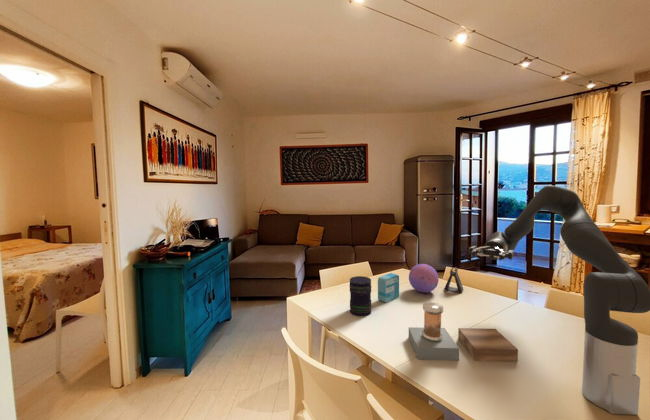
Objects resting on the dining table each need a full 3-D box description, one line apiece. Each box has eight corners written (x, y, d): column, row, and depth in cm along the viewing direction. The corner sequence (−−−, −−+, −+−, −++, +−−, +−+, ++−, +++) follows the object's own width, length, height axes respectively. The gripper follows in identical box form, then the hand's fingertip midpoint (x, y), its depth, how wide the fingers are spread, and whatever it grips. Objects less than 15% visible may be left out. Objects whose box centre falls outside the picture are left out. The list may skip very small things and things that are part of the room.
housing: (445, 342, 91) (446, 310, 90) (425, 341, 91) (426, 310, 91) (438, 331, 98) (439, 302, 97) (419, 331, 98) (420, 301, 97)
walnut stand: (517, 361, 87) (518, 349, 86) (475, 360, 87) (475, 348, 87) (495, 339, 99) (495, 328, 99) (458, 338, 100) (458, 328, 100)
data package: (385, 303, 132) (385, 279, 132) (377, 300, 136) (377, 277, 135) (399, 296, 140) (399, 274, 139) (391, 294, 144) (391, 272, 143)
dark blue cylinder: (346, 309, 127) (345, 277, 126) (364, 305, 131) (364, 275, 130) (356, 318, 118) (355, 284, 117) (375, 314, 121) (375, 281, 120)
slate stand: (459, 360, 88) (459, 348, 88) (417, 359, 89) (417, 347, 88) (444, 338, 101) (444, 327, 100) (408, 337, 102) (408, 327, 101)
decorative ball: (411, 296, 140) (411, 268, 139) (406, 286, 155) (406, 260, 154) (441, 297, 138) (442, 268, 137) (434, 287, 153) (434, 260, 152)
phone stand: (443, 290, 148) (444, 268, 147) (445, 286, 153) (445, 265, 152) (462, 293, 143) (462, 270, 143) (463, 289, 148) (463, 268, 148)
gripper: (476, 237, 117) (466, 243, 105) (516, 241, 108) (510, 248, 96) (476, 254, 118) (465, 262, 106) (516, 260, 108) (509, 269, 96)
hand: (486, 255), depth 101 cm, fingers open, 8 cm apart
